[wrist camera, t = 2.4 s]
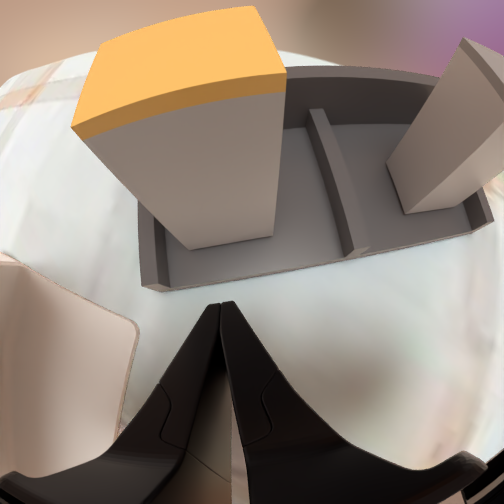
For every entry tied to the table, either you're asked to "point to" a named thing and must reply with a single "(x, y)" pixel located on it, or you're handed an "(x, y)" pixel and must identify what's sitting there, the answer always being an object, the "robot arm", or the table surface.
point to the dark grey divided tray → (323, 185)
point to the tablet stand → (57, 373)
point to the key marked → (192, 122)
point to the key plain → (454, 134)
